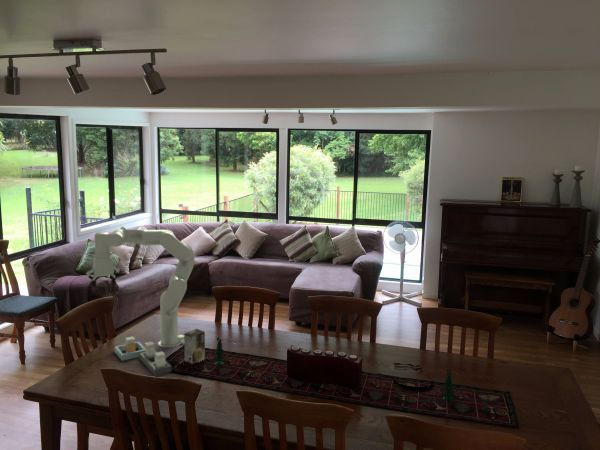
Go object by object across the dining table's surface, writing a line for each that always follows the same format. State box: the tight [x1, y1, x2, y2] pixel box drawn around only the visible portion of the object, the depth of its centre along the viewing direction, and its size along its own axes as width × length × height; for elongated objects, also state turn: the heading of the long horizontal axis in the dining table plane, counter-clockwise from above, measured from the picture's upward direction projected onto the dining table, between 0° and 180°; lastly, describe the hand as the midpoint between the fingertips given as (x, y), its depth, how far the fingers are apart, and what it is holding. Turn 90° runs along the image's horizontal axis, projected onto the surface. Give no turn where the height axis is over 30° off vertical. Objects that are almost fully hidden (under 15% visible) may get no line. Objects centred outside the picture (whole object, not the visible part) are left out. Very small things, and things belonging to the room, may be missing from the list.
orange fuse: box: [125, 336, 137, 353], centre depth 271 cm, size 4×4×9 cm
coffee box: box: [183, 328, 206, 365], centre depth 266 cm, size 9×6×16 cm
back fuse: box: [144, 341, 156, 357], centre depth 264 cm, size 4×4×9 cm
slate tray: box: [114, 341, 145, 361], centre depth 272 cm, size 13×13×4 cm
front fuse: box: [155, 350, 166, 368], centre depth 252 cm, size 4×4×9 cm
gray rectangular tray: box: [138, 350, 172, 377], centre depth 259 cm, size 8×23×4 cm, turn 36°
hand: (103, 285), depth 273 cm, fingers open, 9 cm apart
